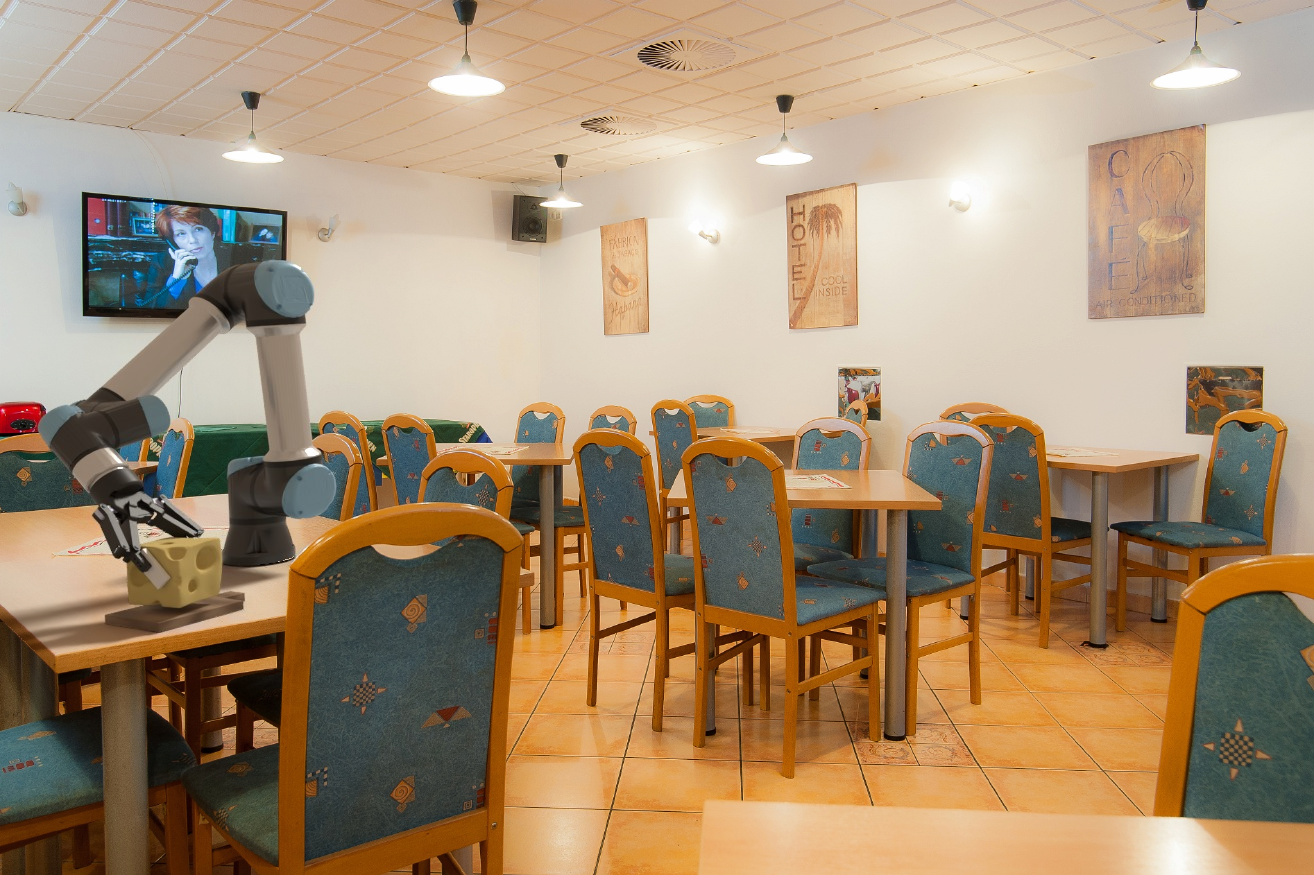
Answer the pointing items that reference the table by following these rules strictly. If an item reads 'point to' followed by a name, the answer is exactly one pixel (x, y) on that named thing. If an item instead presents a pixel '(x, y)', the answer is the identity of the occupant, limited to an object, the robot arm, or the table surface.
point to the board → (176, 613)
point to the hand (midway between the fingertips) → (189, 576)
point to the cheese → (178, 572)
